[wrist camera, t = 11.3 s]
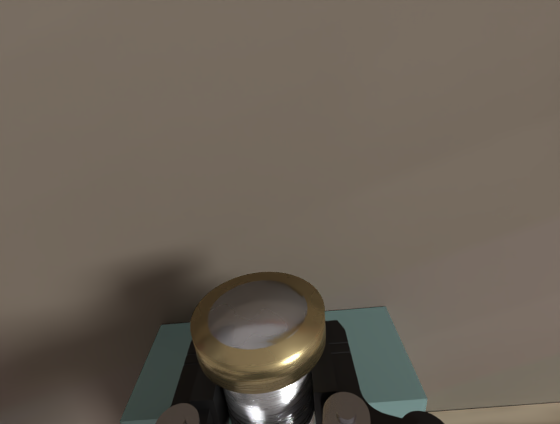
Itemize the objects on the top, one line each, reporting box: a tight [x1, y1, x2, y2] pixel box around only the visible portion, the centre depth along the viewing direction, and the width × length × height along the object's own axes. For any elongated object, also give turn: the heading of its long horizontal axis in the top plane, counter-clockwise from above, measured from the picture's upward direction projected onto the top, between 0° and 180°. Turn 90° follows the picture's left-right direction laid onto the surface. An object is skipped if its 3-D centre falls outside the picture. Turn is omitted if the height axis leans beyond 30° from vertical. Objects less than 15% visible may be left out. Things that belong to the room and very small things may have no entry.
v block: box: [120, 307, 427, 424], centre depth 18 cm, size 8×13×6 cm, turn 95°
